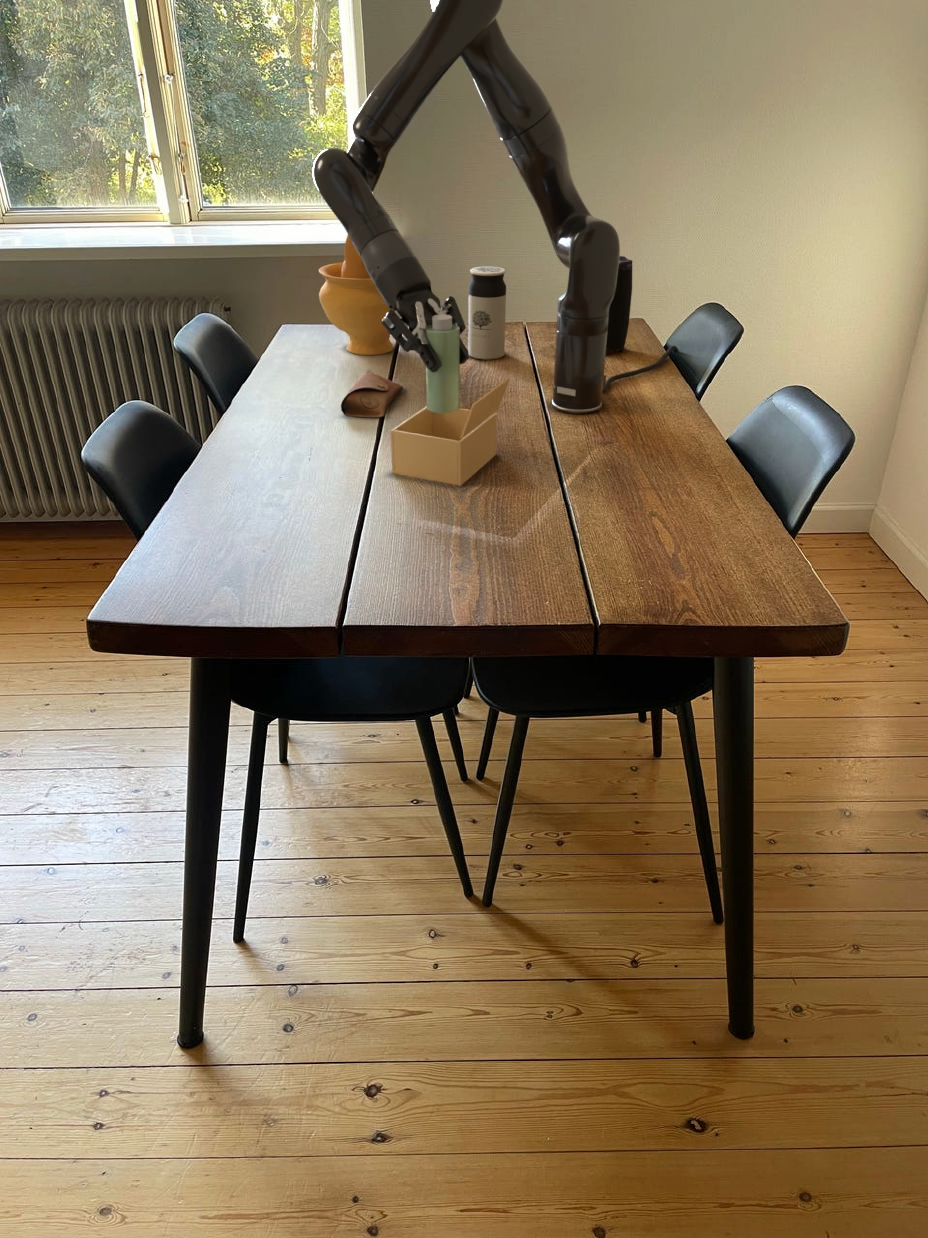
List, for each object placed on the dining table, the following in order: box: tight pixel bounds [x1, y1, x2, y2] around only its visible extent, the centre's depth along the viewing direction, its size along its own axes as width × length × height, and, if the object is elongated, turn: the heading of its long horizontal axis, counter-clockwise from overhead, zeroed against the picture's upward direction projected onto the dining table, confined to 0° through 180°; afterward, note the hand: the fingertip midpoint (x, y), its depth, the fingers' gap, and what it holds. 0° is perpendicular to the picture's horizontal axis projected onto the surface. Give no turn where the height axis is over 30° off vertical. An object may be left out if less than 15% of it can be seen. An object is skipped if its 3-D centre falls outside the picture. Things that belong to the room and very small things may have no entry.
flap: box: [460, 377, 511, 438], centre depth 142 cm, size 14×6×1 cm
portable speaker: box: [605, 255, 634, 356], centre depth 202 cm, size 9×9×20 cm
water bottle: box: [425, 315, 461, 413], centre depth 141 cm, size 5×5×14 cm
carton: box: [390, 405, 498, 487], centre depth 148 cm, size 14×12×8 cm
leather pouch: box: [340, 368, 404, 419], centre depth 176 cm, size 18×7×7 cm, turn 172°
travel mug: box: [467, 266, 507, 361], centre depth 199 cm, size 8×8×18 cm
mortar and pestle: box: [318, 234, 394, 356], centre depth 200 cm, size 21×21×30 cm
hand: (451, 364), depth 140 cm, fingers closed on water bottle, 5 cm apart
